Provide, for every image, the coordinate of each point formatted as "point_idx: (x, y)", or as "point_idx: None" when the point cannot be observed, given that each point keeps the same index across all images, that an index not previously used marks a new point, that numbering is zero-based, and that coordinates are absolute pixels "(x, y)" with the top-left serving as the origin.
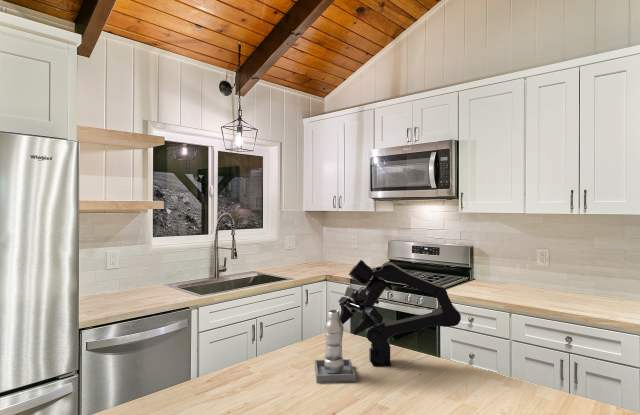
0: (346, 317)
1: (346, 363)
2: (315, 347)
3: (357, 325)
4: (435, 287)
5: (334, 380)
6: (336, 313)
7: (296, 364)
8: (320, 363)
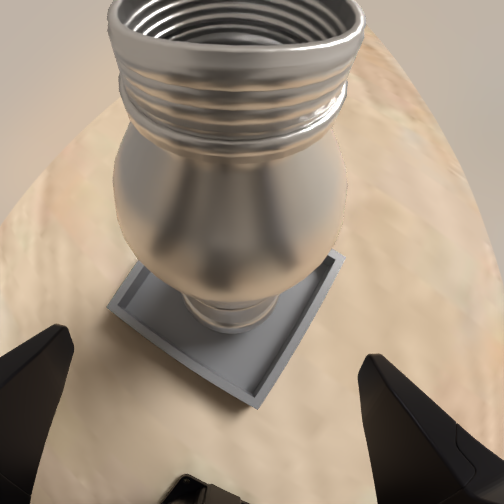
0: (398, 501)
1: (258, 386)
2: (474, 372)
3: (5, 372)
4: None
5: None
6: (122, 1)
7: (385, 223)
8: (322, 278)
